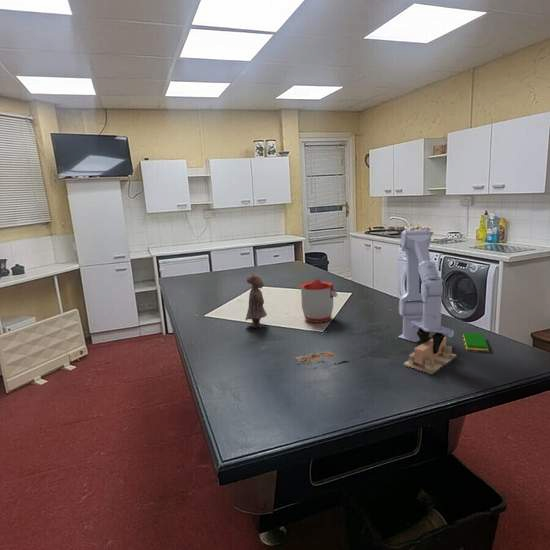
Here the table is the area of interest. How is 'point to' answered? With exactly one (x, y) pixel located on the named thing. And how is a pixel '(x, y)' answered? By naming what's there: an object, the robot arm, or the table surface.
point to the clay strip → (427, 351)
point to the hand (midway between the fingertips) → (430, 351)
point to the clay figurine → (255, 301)
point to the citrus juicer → (317, 300)
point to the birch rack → (432, 361)
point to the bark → (315, 356)
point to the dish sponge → (475, 341)
